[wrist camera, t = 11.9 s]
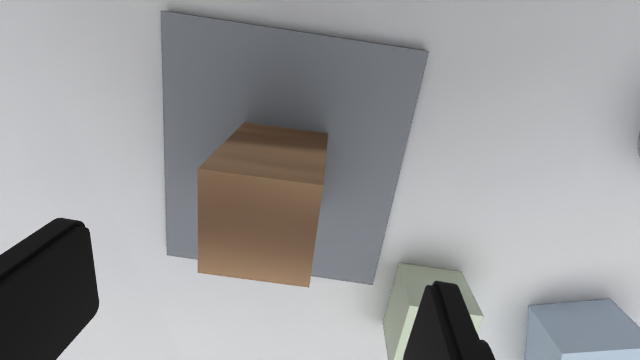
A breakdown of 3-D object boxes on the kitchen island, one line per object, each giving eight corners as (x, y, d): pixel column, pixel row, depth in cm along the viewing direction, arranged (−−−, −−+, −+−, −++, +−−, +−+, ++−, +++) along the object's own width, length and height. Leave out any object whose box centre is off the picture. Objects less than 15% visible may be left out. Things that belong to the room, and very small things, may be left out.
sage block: (398, 261, 23) (409, 305, 20) (460, 270, 23) (483, 316, 20) (382, 322, 25) (389, 372, 22) (440, 330, 25) (457, 382, 22)
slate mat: (166, 11, 18) (161, 10, 18) (425, 50, 18) (428, 51, 18) (170, 249, 24) (166, 255, 23) (371, 279, 24) (372, 284, 23)
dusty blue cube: (527, 304, 24) (561, 353, 20) (608, 297, 24) (659, 347, 20) (523, 360, 26) (554, 415, 22) (598, 355, 25) (643, 410, 22)
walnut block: (244, 122, 20) (197, 168, 13) (328, 133, 20) (323, 185, 13) (240, 198, 21) (197, 272, 15) (318, 208, 21) (309, 287, 15)
